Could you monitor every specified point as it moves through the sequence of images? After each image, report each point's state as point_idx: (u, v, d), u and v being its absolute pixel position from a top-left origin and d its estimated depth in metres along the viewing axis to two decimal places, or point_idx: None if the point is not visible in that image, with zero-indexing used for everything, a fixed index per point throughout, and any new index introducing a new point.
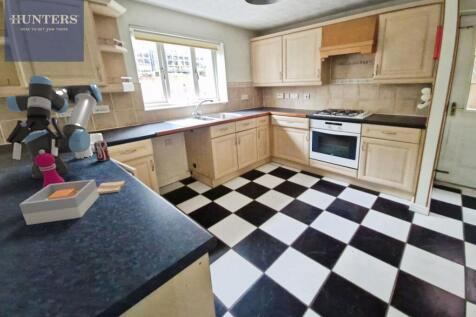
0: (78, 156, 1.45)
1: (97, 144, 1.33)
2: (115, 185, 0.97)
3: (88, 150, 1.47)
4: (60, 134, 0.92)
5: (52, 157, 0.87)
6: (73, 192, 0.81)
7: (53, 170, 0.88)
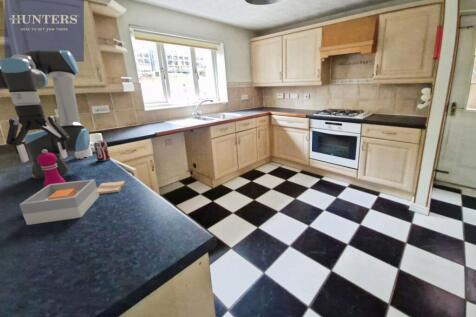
0: (78, 156, 1.45)
1: (97, 144, 1.33)
2: (115, 185, 0.97)
3: (88, 150, 1.47)
4: (64, 136, 0.85)
5: (54, 157, 0.88)
6: (73, 192, 0.81)
7: (55, 170, 0.89)
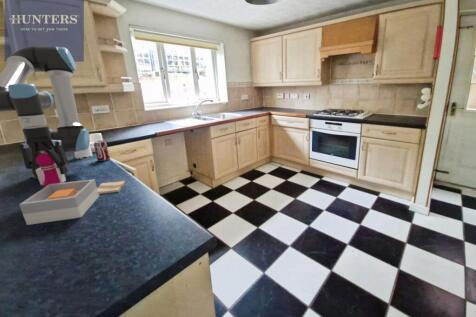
0: (77, 156, 1.45)
1: (97, 144, 1.33)
2: (115, 185, 0.97)
3: (87, 150, 1.47)
4: (63, 162, 0.88)
5: None
6: (73, 192, 0.81)
7: (54, 170, 0.89)
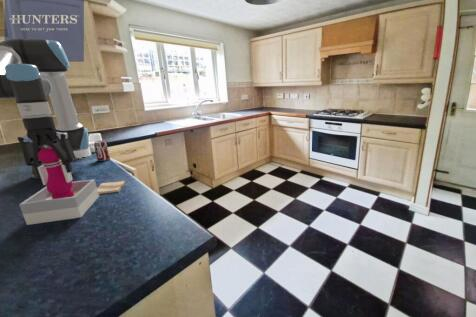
0: (76, 156, 1.45)
1: (97, 144, 1.33)
2: (115, 185, 0.97)
3: (86, 150, 1.47)
4: (70, 158, 0.75)
5: None
6: None
7: (59, 167, 0.76)
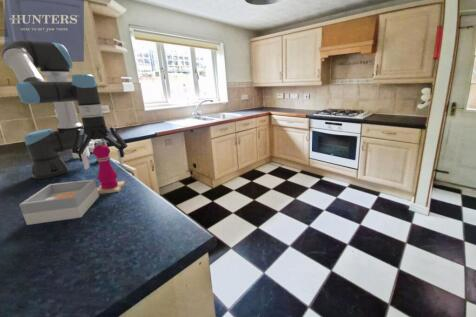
0: (75, 156, 1.46)
1: (97, 144, 1.33)
2: None
3: (85, 150, 1.47)
4: (123, 145, 0.92)
5: (108, 149, 0.92)
6: None
7: (108, 161, 0.93)
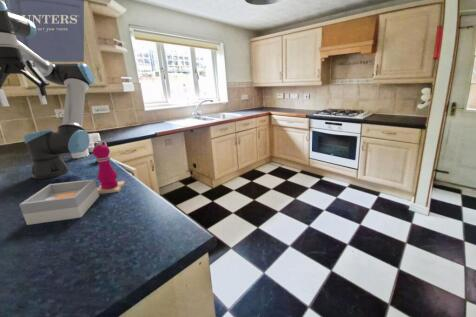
0: (74, 156, 1.46)
1: None
2: None
3: None
4: (43, 82, 0.87)
5: (108, 149, 0.92)
6: None
7: (108, 161, 0.93)
